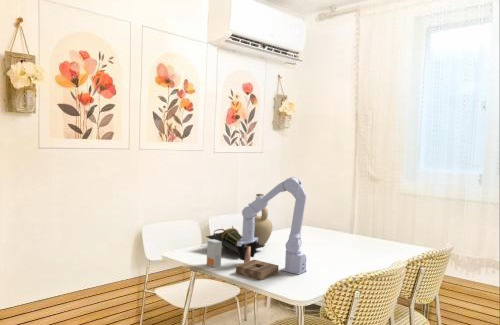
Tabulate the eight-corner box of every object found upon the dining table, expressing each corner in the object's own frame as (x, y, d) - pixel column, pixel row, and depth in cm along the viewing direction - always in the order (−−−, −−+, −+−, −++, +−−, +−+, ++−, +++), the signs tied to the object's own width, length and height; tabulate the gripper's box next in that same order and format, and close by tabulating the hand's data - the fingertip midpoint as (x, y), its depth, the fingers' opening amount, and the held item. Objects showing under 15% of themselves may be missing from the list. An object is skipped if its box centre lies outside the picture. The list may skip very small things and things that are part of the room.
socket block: (278, 272, 183) (278, 265, 183) (261, 280, 171) (261, 272, 171) (253, 266, 191) (253, 259, 191) (235, 273, 180) (236, 265, 179)
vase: (277, 246, 234) (279, 195, 233) (254, 249, 224) (256, 196, 223) (260, 240, 247) (262, 192, 246) (238, 242, 238) (240, 193, 237)
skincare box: (206, 264, 191) (207, 240, 190) (213, 263, 194) (214, 239, 193) (214, 267, 186) (215, 242, 186) (221, 266, 189) (222, 241, 189)
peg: (251, 264, 194) (251, 246, 193) (247, 266, 191) (248, 247, 191) (246, 263, 195) (247, 245, 195) (242, 264, 193) (243, 246, 193)
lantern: (235, 266, 202) (194, 241, 219) (259, 261, 222) (220, 238, 238) (244, 242, 201) (202, 218, 217) (267, 239, 220) (227, 217, 237)
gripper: (250, 227, 201) (249, 253, 201) (232, 231, 189) (231, 259, 190) (261, 229, 197) (260, 256, 197) (244, 234, 185) (243, 262, 186)
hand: (247, 258), depth 193 cm, fingers open, 7 cm apart
